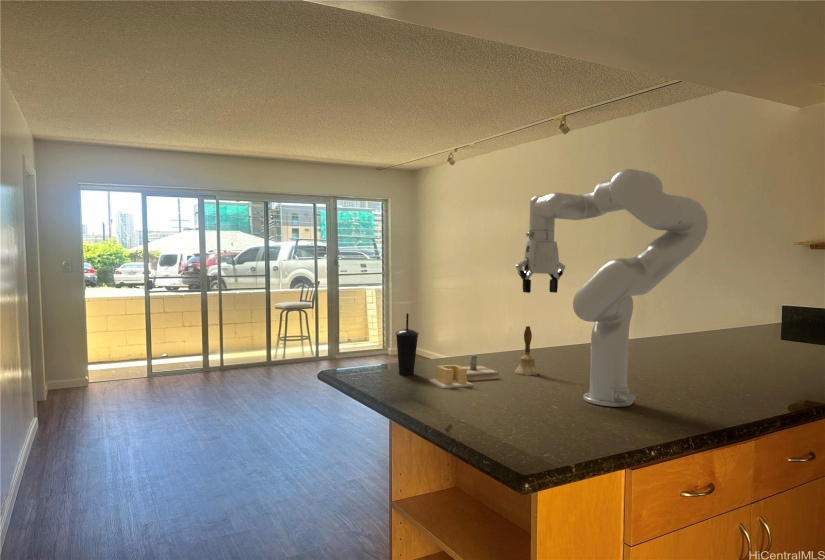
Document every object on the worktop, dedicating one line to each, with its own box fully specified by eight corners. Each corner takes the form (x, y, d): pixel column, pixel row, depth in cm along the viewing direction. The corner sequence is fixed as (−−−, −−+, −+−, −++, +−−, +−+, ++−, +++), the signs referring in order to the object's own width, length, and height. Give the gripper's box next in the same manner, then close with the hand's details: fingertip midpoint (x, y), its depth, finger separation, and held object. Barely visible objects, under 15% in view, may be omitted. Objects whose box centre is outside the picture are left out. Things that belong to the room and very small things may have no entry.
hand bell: (541, 375, 179) (543, 328, 178) (516, 375, 179) (518, 327, 179) (536, 370, 187) (537, 325, 187) (512, 370, 187) (513, 324, 187)
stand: (498, 378, 173) (499, 358, 173) (465, 380, 169) (465, 359, 169) (480, 371, 185) (480, 352, 184) (448, 373, 180) (449, 353, 180)
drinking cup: (418, 372, 181) (420, 312, 181) (416, 376, 174) (418, 314, 173) (396, 371, 182) (397, 312, 181) (393, 375, 174) (394, 314, 174)
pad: (472, 386, 162) (472, 384, 162) (442, 388, 158) (442, 386, 158) (458, 379, 171) (458, 377, 171) (429, 381, 168) (429, 379, 168)
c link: (466, 383, 163) (466, 368, 163) (445, 384, 160) (445, 370, 160) (456, 378, 170) (456, 364, 169) (435, 379, 167) (436, 365, 167)
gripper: (524, 235, 159) (522, 293, 159) (572, 237, 165) (571, 293, 166) (510, 236, 166) (509, 291, 166) (557, 238, 172) (556, 291, 173)
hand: (540, 292), depth 166 cm, fingers open, 9 cm apart
